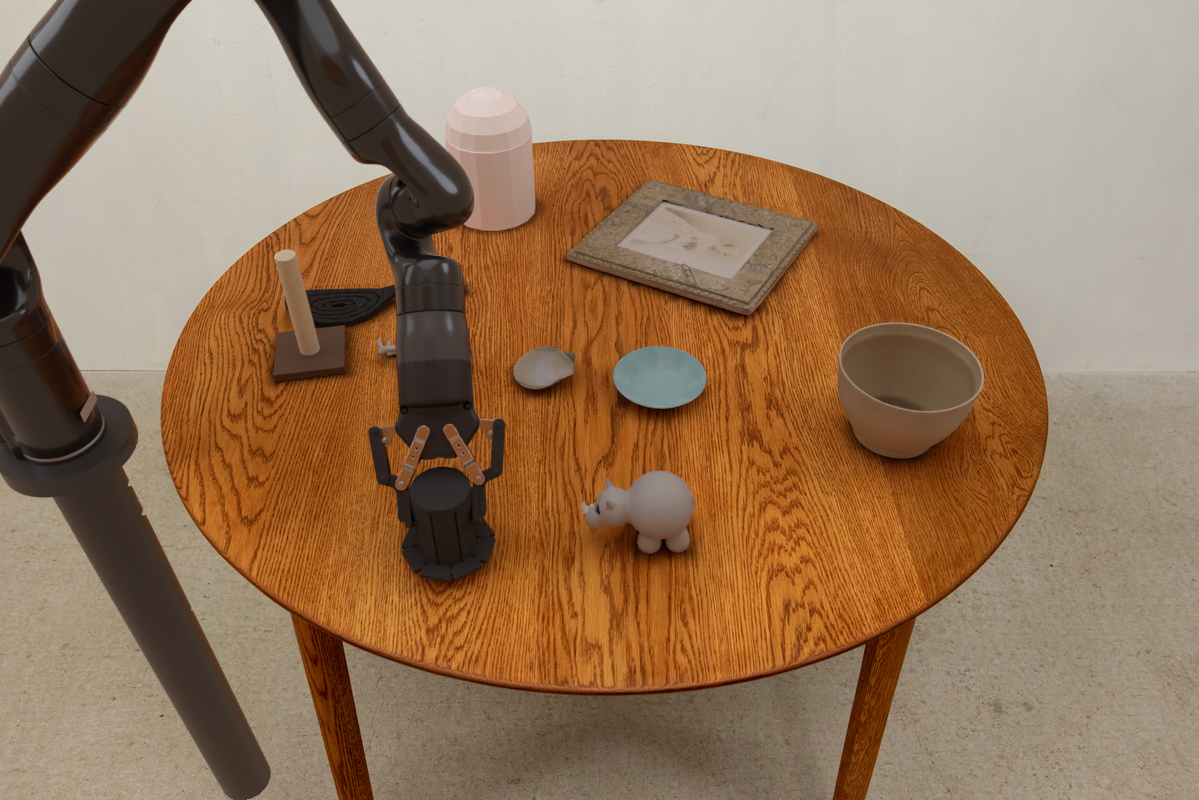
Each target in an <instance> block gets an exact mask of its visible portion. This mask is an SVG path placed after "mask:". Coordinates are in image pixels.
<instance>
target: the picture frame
mask: <svg viewBox="0 0 1199 800" xmlns="http://www.w3.org/2000/svg"><path fill="white" fill-rule="evenodd" d="M819 226H820V223H818V222H817V221H814V222H813V221H812V220H810V219H805V218H803V217H797V216H792V215H790V214H785V213H782V212H779V211H776V210H771V209H770V208H765V207H761V206H757V205H751V204H750V203H747V204H746V203H745V202H744V201H741V202H740V201H738V200H732V199H730V198H725V197H723V196H721V197H720V196H718V195H713V194H711V193H709V194H708V193H705V192H703V191H698V190H697V191H696V190H695V189H689V188H686V187H682V186H677V185H675V184H669V183H665V182H662V181H659V180H653V179H648V180H647V181H645V182H644V183H642V185H641V186H640V187H639V188H637V190H635V191H634V192H633V193H632V194H631V195H630V196H629V197H628V198H627V199H625V200H624V201H623V202H622V203H621V204H620V205H619V206H618V207H617V208H615V210H613V211H612V212H611V213H610V214H608V216H607V217H606V218H604V219H602V221H600V223H598V224H597V225H596V226H595V227H594V228H593V229H592V230H591V231H589V232H588V233H587V235H585V237H583V239H581V240H580V241H579V242H578V243H577V244H575V245H574V246H572V248H571V249H569V250H568V251H567V253H566V255H565V256H566V260H567V261H569V262H572V263H576V264H578V265H580V266H584V267H587V268H591V269H594V270H597V271H600V272H603V273H606V274H610V275H613V276H617V277H620V278H623V279H626V280H629V281H632V282H636V283H639V284H643V285H645V286H649V287H653V288H656V289H659V290H662V291H665V292H669V293H672V294H675V295H678V296H681V297H684V298H688V299H690V300H694V301H698V302H701V303H704V304H707V305H711V306H715V307H717V308H721V309H724V310H726V311H730V312H733V313H736V314H740V315H741V314H742V315H746V316H750V315H752V313H754V312H755V311H756V310H757V308H758V307H759V306H760V305H761V304H762V303H763V302H764V300H765V299H766V298H767V297H768V295H769V294H770V293H771V291H772V290H773V289H774V287H775V286H776V285H777V283H778V282H779V281H780V279H781V278H782V277H783V275H784V274H785V272H786V271H787V270H788V269H789V268H790V267H791V265H792V264H793V263H794V261H795V260H796V259H797V258H798V256H799V255H800V253H801V252H802V251H803V249H804V248H805V247H806V246H807V244H808V243H809V242H810V241H811V239H812V238H813V237H814V235H815V234H816V232H817V231H818V230H819Z"/></svg>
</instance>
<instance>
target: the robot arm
mask: <svg viewBox="0 0 1199 800" xmlns="http://www.w3.org/2000/svg"><path fill="white" fill-rule="evenodd" d="M253 1H254V2H255V3H256V5H257V6H258V8H259V10H260V11H261V12H262V14H263V15H264V17H265V19H266V20H267V22H268V24H269V25H270V27H271V29H272V31H273V32H274V34H275V36H276V38H277V40H278V42H279V44H280V45H281V47H282V49H283V51H284V54H285V55H286V58H287V60H288V62H289V64H290V66H291V68H292V70H293V72H294V74H295V76H296V78H297V79H298V81H299V84H300V85H301V87H302V89H303V90H304V92H305V94H306V96H307V97H308V99H309V101H310V102H311V103H312V105H313V106H314V108H315V109H316V111H317V112H318V114H319V115H320V117H322V119H323V121H324V122H325V124H326V125H327V126H328V128H329V129H330V131H331V132H332V133H333V135H334V136H335V138H336V139H337V140H338V141H339V142H340V143H341V145H342V146H343V148H344V149H345V151H346V152H347V153H348V154H349V156H350V157H351V158H352V159H353V160H354V161H355V162H356V163H359V164H362V165H371V166H372V165H375V166H381V167H383V168H386V169H387V170H389V171H390V172H391V173H392V174H390V175H389V176H387V177H386V178H385V179H384V180H383V182H381V184H380V186H379V188H378V191H377V194H376V198H375V204H374V205H375V207H374V211H375V212H374V213H375V221H376V225H377V229H378V232H379V235H380V239H381V241H382V245H383V248H384V251H385V255H386V258H387V261H388V263H389V267H390V269H391V272H392V274H393V277H394V278H393V279H394V285H395V298H394V299H395V300H394V301H395V313H396V314H395V315H396V324H395V325H396V326H395V336H394V337H395V343H394V345H396V354H395V359H396V362H395V363H396V379H397V396H398V415H397V419H396V421H395V424H394V423H393V424H388V425H383V426H375V425H374V426H371V427H369V428H368V430H367V435H368V440H369V445H370V451H371V456H372V461H373V467H374V472H375V479H376V482H377V484H378V485H380V486H385V487H388V488H392V489H393V490H394V491H395V493H396V508H397V510H396V511H397V519H398V521H399V523H400V524H401V523H404V527H405V529H409V528H413V527H414V524H415V523H414V518H413V513H412V507H411V498H410V486H411V484H412V482H413V480H414V479H415V475H416V473H417V471H418V469H419V467H420V465H421V462H422V461H433V460H436V459H439V458H441V459H445V460H449V459H450V460H451V459H456V458H458V459H459V461H460V462H461V464H462V466H463V468H464V469H465V470H466V472H467V474H468V475H469V477H470V479H471V480H472V486H471V485H470V486H471V495H472V515H473V523H480V522H481V517H483V518H485V517H486V514H487V512H488V506H487V491H486V490H487V488H486V487H487V483H488V482H490V481H492V480H495V479H497V478H500V477H501V476H502V475H503V472H504V456H505V442H506V426H507V425H506V422H505V420H504V419H502V418H500V417H499V418H496V419H492V418H480V417H479V416H478V414H477V412H476V409H475V400H474V399H475V398H474V386H473V385H474V384H473V383H474V382H473V367H472V356H473V349H472V346H471V336H470V329H469V326H468V321H467V319H468V318H467V310H466V293H465V292H464V285H465V277H464V270H463V268H462V266H461V263H460V262H459V261H458V260H457V259H455V258H454V257H450V256H447V255H440V254H438V252H437V249H436V246H435V243H434V239H433V235H437V234H440V233H445V232H447V231H451V230H454V229H457V228H459V227H461V226H462V225H464V223H465V222H466V221H467V220H468V219H469V218H470V216H471V215H472V212H473V209H474V192H473V188H472V185H471V182H470V180H469V177H468V175H467V174H466V172H465V170H464V169H463V167H462V166H461V165H460V164H459V162H458V161H457V160H456V159H455V158H454V157H453V156H452V155H451V154H450V153H449V152H448V151H447V150H446V147H444V146H443V145H442V144H441V143H440V142H439V141H438V140H437V139H435V137H433V136H432V135H431V134H430V133H429V132H428V131H427V130H426V129H425V128H424V127H423V126H421V124H419V123H418V122H416V121H415V120H414V119H413V118H412V117H411V116H410V115H409V114H408V113H407V110H405V108H404V106H403V105H402V104H401V102H400V99H398V97H397V95H396V94H395V93H394V92H393V91H394V90H393V89H392V88H391V86H390V85H389V84H388V82H387V81H386V79H385V78H384V77H383V75H382V73H381V72H380V70H379V69H378V67H377V66H376V64H375V63H374V62H373V61H372V59H371V58H370V56H369V55H368V53H367V52H366V50H365V48H364V47H363V46H362V44H361V43H360V41H359V40H358V39H357V37H356V36H355V34H354V33H353V31H352V30H351V28H350V26H349V25H348V24H347V23H346V21H345V19H344V17H343V16H342V15H341V13H340V12H339V10H338V9H337V7H336V6H335V4H334V2H333V1H332V0H253ZM191 2H193V0H55V1H54V2H53V4H52V5H51V6H50V7H49V9H48V10H47V11H46V12H45V14H44V15H43V16H42V17H41V18H40V19H39V21H37V23H36V25H34V27H33V28H32V29H31V31H30V32H29V33H28V35H26V37H25V39H24V40H23V41H22V42H21V44H20V45H19V47H18V48H17V49H16V51H15V52H14V54H13V55H12V56H11V57H10V59H9V60H8V61H7V63H6V64H5V66H4V68H3V69H2V71H1V73H0V443H7V444H8V446H9V447H10V449H11V451H12V452H13V454H14V456H15V457H16V459H17V460H21V459H27V460H28V461H30V462H32V463H36V464H41V465H52V464H59V463H64V462H67V461H70V460H73V459H76V458H78V457H80V456H82V455H84V454H85V453H87V452H88V451H90V450H91V449H92V448H94V447H95V446H96V445H97V444H98V443H99V442H100V440H101V439H102V438H103V436H104V434H105V431H106V422H105V420H104V418H103V415H102V414H101V412H100V410H99V408H98V407H97V405H96V401H97V397H96V395H95V394H96V393H95V391H94V390H90V388H89V386H88V384H87V382H86V380H85V378H84V377H83V374H82V372H81V370H80V368H79V366H78V364H77V361H76V360H75V357H74V356H73V354H72V352H71V350H70V348H69V346H68V344H67V341H66V339H65V338H64V336H63V333H62V331H61V329H60V327H59V325H58V323H57V321H56V319H55V317H54V315H53V313H52V311H51V309H50V306H49V304H48V302H47V300H46V298H45V295H44V290H43V283H42V279H41V274H40V271H39V268H38V266H37V264H36V262H35V259H34V255H33V254H32V252H31V248H30V247H29V245H28V242H27V240H26V237H25V235H24V233H23V231H22V229H23V227H24V226H25V225H26V223H27V221H28V220H29V218H30V217H31V215H32V214H33V212H34V211H35V209H36V208H37V207H38V206H39V204H40V203H41V202H42V201H43V200H44V199H45V197H47V195H49V193H50V192H51V191H52V190H54V188H55V187H56V186H57V185H58V184H59V183H60V182H61V181H62V180H63V179H64V178H65V177H66V176H67V175H68V174H69V173H70V171H72V169H73V168H74V167H75V166H76V165H77V164H78V163H79V162H80V161H81V160H82V159H83V157H84V156H85V155H86V154H87V153H88V152H89V151H90V149H91V148H92V147H93V146H94V145H95V144H96V143H97V142H98V140H99V139H100V138H101V137H102V136H103V135H104V134H105V133H106V132H107V130H108V129H110V127H111V126H112V124H114V122H115V121H116V119H118V117H119V115H120V114H121V113H123V111H124V109H125V108H126V107H127V106H128V104H129V103H130V102H131V100H132V99H133V97H134V96H135V94H136V93H137V91H138V90H139V89H140V87H141V85H142V84H143V82H144V81H145V79H146V77H147V76H148V74H149V72H150V70H151V68H152V66H153V64H154V62H155V60H156V58H157V56H158V54H159V51H160V50H161V47H162V45H163V43H164V41H165V39H166V36H167V35H168V34H169V32H170V29H171V28H172V26H173V24H174V23H175V22H176V20H177V19H178V17H179V16H180V15H181V14H182V13H183V11H185V9H186V8H187V7H188V6H189V4H191ZM470 346H471V347H470ZM471 349H472V350H471ZM479 429H482V430H483V432H484V436H485V438H486V439H488V440H490V441H491V450H490V451H491V452H490V465H489V467H487V468H486V469H484V470H482V468H481V465H480V464H479V462H478V461H477V459H476V457H475V456H474V453H473V452H472V450H471V449H470V447H469V445H470V444H471V442H472V440H473V438H474V437H475V435H476V434H477V432H478V431H479ZM396 434H397V436H398V437H399V438H400V439H401V441H403V443H404V444H405V445H406V446H407V448H408V451H407V454H406V456H405V459H404V460H403V462H402V467H401V469H400V471H399V474H398V475H396V474H393V473H392V467H391V463H390V458H389V453H388V447H390V446H392V444H393V438H394V436H395V435H396Z"/></svg>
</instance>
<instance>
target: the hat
mask: <svg viewBox="0 0 1199 800" xmlns="http://www.w3.org/2000/svg"><path fill="white" fill-rule="evenodd" d="M410 498H411V507H412V513H413V518H414V527H413V528H408V530H407V532H406V534H405V537H404V539H403V541H402V543H401V545H400V548H401V555H402V557H403V558H404V560H405V562H406V563H407V565H408V566H409V568H410V570H411V571H412V573H413V574H414V575H417V574H418V576H419V579H425V580H430V581H434V582H441V583H447V584H449V583H450V582H451V580H452V579H453V581H454V582H459V581H461V580H462V579H465V578H467V577H469V576H471V575H473V574H475V573H477V572H479V571H482V570H483V569H484V565H488V563H489V561H490V558H491V555H492V552H493V549H494V547H495V544H496V534H495V531H494V530H493V529H492V527H491V526H490V524H489V523H488V522H487V520H486V519H485V517H481V522H480V523H473V515H472V495H471V480H470V479H469V477H468V476H467V475H466V474H465V472H463V471H462V470H460V469H458V468H456V467H452V466H447V465H446V466H444V465H443V466H434V467H431V468H428V469H425V470H424V471H422V472H420V473H419V474H418V475H417V476H415V477H414V478H413V480H412V482H411V484H410ZM483 564H484V565H483Z"/></svg>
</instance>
